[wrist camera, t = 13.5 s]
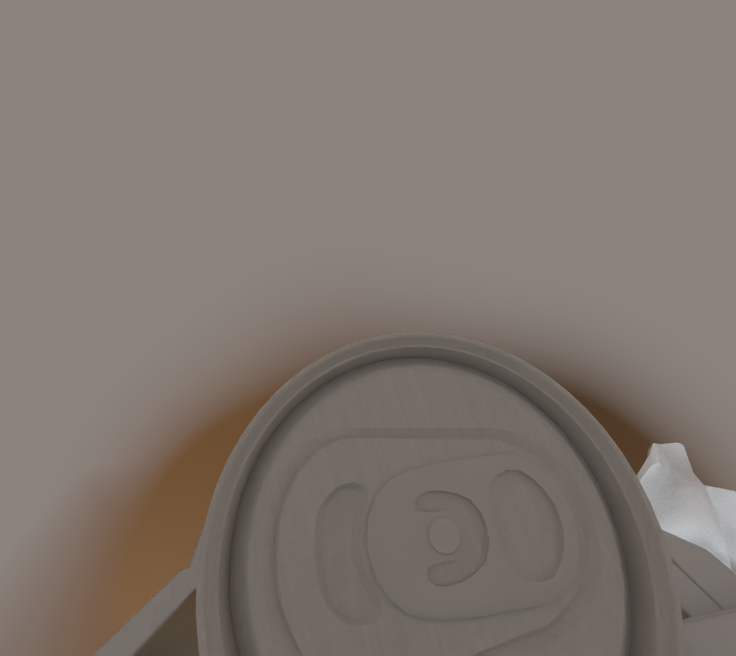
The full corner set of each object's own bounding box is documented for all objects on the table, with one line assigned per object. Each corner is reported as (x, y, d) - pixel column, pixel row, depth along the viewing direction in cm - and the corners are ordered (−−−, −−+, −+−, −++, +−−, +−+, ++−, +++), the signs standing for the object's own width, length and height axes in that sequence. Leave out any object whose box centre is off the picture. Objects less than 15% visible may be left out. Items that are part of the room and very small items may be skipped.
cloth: (589, 431, 37) (599, 427, 35) (744, 451, 34) (764, 447, 32) (628, 795, 26) (646, 820, 24) (858, 861, 23) (900, 895, 21)
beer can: (307, 469, 18) (187, 330, 5) (422, 452, 19) (577, 290, 6) (314, 617, 15) (86, 1152, 2) (450, 592, 16) (890, 909, 3)
